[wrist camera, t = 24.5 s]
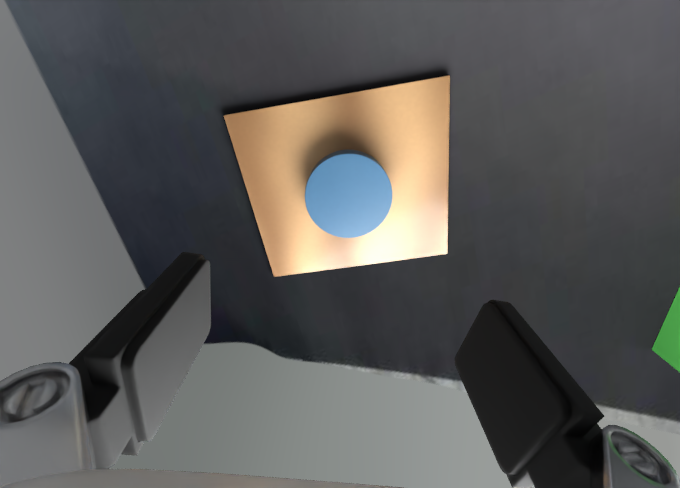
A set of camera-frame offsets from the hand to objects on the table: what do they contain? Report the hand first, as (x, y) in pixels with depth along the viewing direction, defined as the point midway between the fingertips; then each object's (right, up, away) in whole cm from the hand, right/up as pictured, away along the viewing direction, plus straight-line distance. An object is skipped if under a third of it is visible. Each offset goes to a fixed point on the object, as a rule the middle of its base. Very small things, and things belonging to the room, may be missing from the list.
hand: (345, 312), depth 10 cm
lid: (0, +6, +12) cm, 14 cm away
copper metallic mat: (0, +7, +14) cm, 15 cm away
